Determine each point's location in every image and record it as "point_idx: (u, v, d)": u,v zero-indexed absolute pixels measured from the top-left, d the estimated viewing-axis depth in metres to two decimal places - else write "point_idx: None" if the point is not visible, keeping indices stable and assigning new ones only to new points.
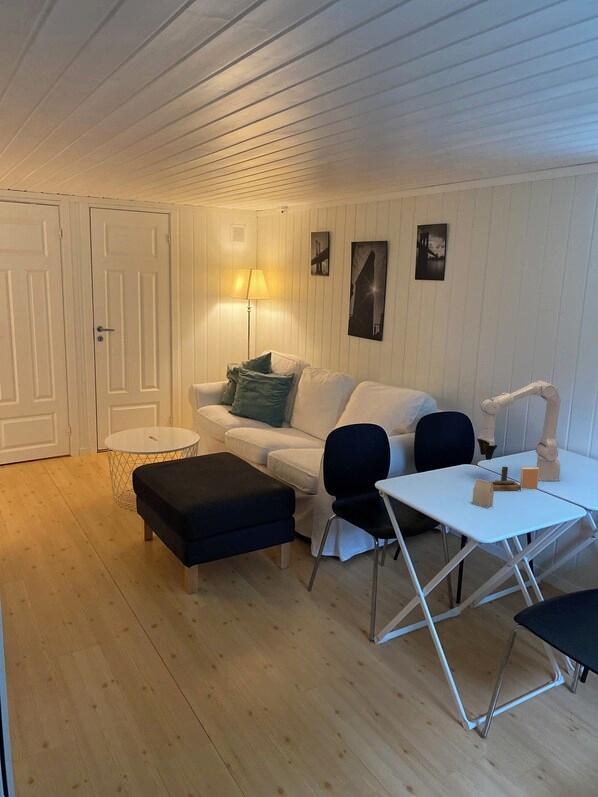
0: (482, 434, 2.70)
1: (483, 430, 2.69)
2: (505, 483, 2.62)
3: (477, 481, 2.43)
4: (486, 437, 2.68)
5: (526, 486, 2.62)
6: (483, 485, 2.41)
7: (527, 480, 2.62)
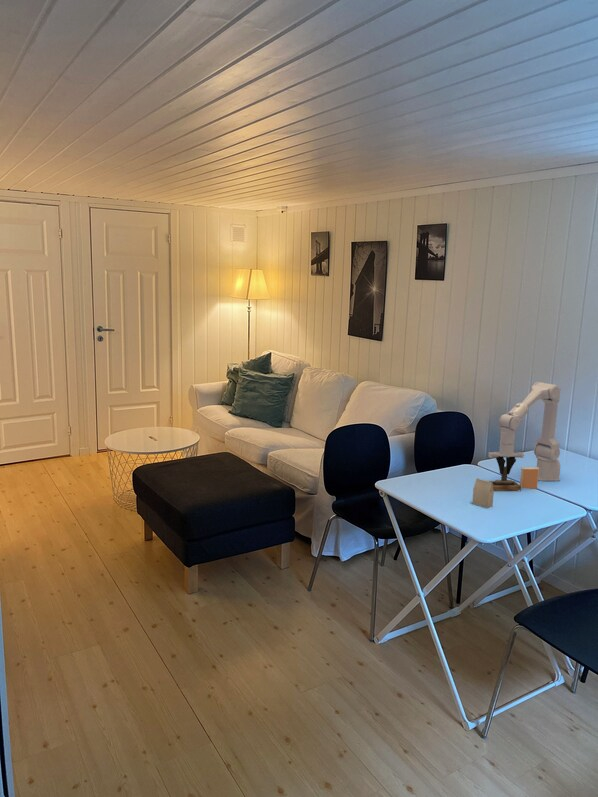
0: None
1: None
2: (505, 483, 2.62)
3: (477, 481, 2.43)
4: (499, 451, 2.61)
5: (526, 486, 2.62)
6: (483, 485, 2.41)
7: (527, 480, 2.62)
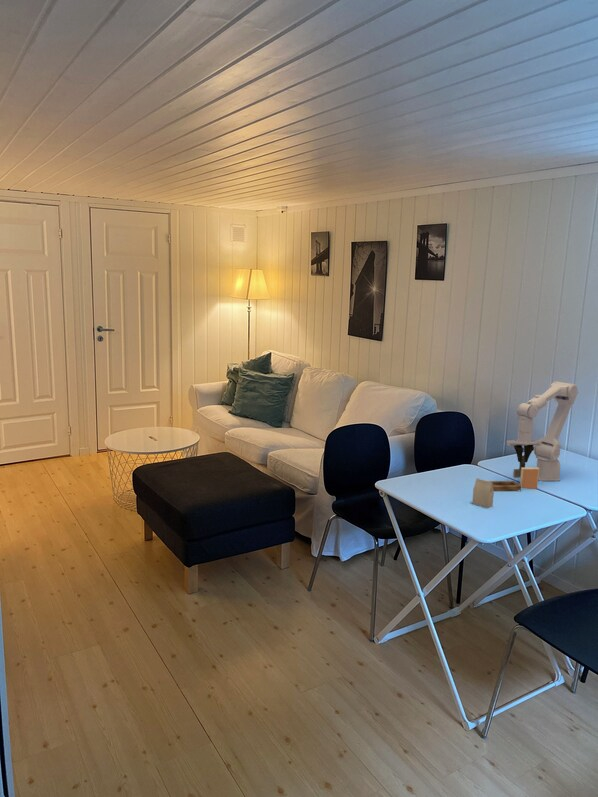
0: None
1: None
2: None
3: (477, 481, 2.43)
4: (517, 439, 2.66)
5: (526, 486, 2.62)
6: (483, 485, 2.41)
7: (527, 480, 2.62)
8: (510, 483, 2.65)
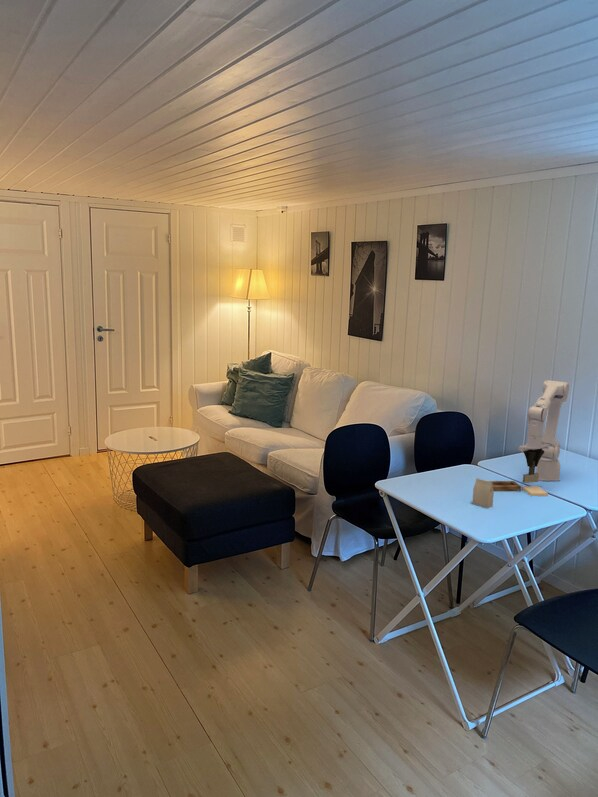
0: None
1: None
2: (533, 477, 2.60)
3: (477, 481, 2.43)
4: (527, 444, 2.58)
5: None
6: (483, 485, 2.41)
7: None
8: (510, 483, 2.65)
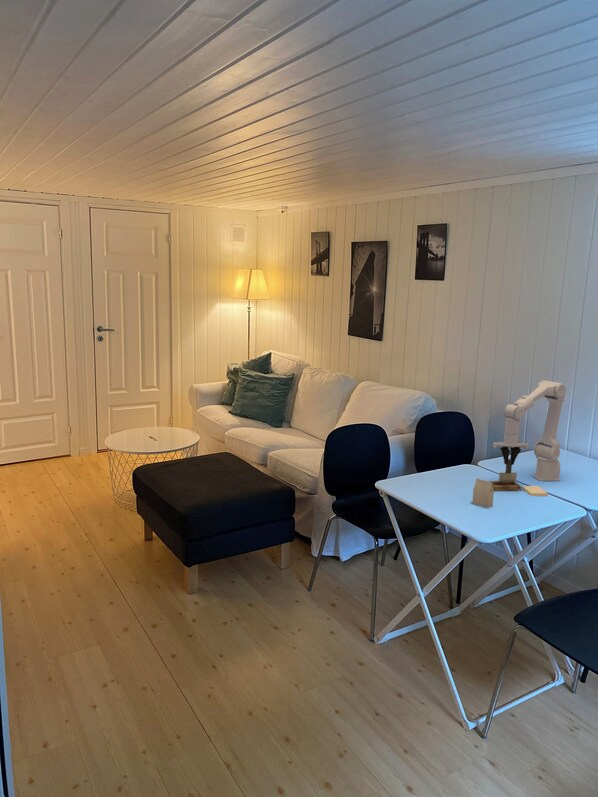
0: None
1: None
2: (509, 475, 2.62)
3: (477, 481, 2.43)
4: None
5: None
6: (483, 485, 2.41)
7: None
8: (510, 483, 2.65)
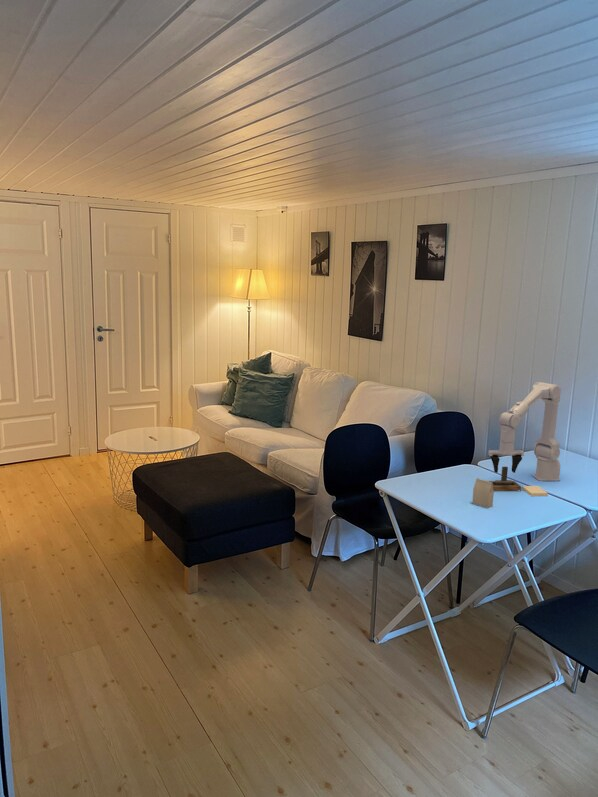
0: None
1: None
2: (505, 483, 2.62)
3: (477, 481, 2.43)
4: (499, 449, 2.60)
5: None
6: (483, 485, 2.41)
7: None
8: None
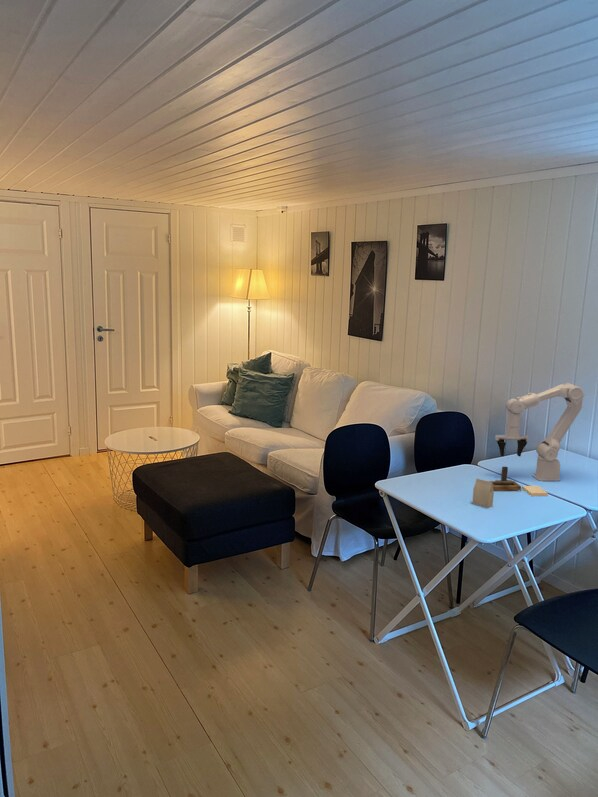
0: None
1: None
2: (505, 483, 2.62)
3: (477, 481, 2.43)
4: (505, 434, 2.74)
5: None
6: (483, 485, 2.41)
7: None
8: None
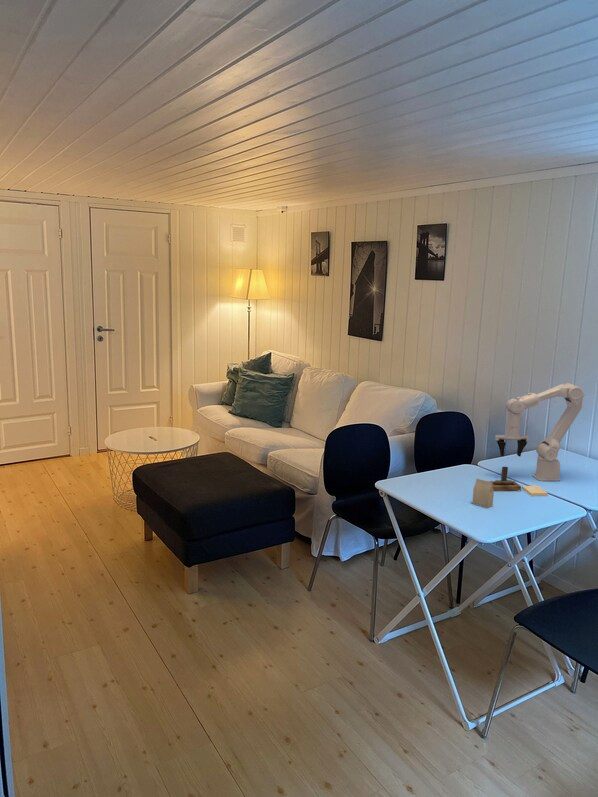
0: None
1: None
2: (505, 483, 2.62)
3: (477, 481, 2.43)
4: (505, 434, 2.74)
5: None
6: (484, 485, 2.41)
7: None
8: None
